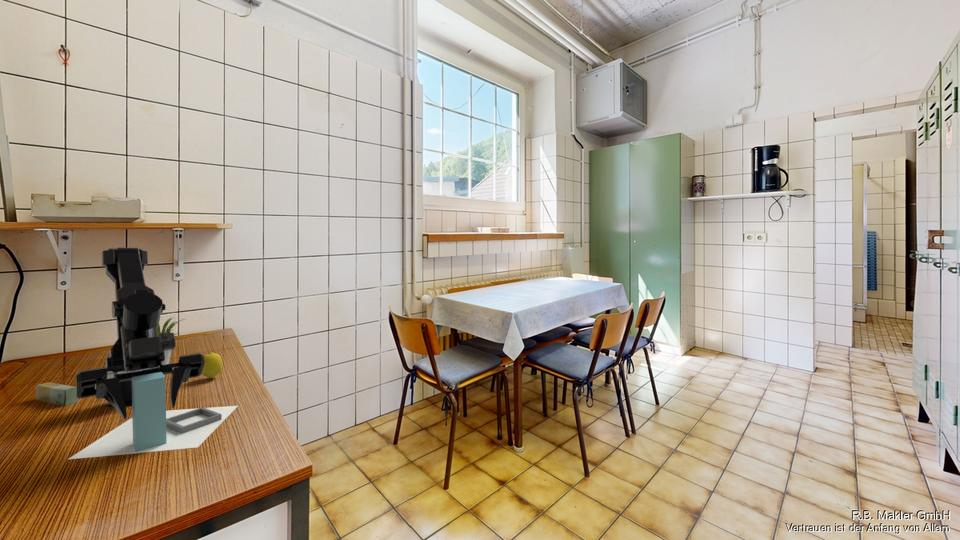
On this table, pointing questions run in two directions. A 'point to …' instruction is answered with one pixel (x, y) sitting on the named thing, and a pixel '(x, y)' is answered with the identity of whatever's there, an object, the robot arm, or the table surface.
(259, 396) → the table surface
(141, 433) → the post
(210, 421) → the socket
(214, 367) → the lemon
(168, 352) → the house plant
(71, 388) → the medication box
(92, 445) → the baseplate
